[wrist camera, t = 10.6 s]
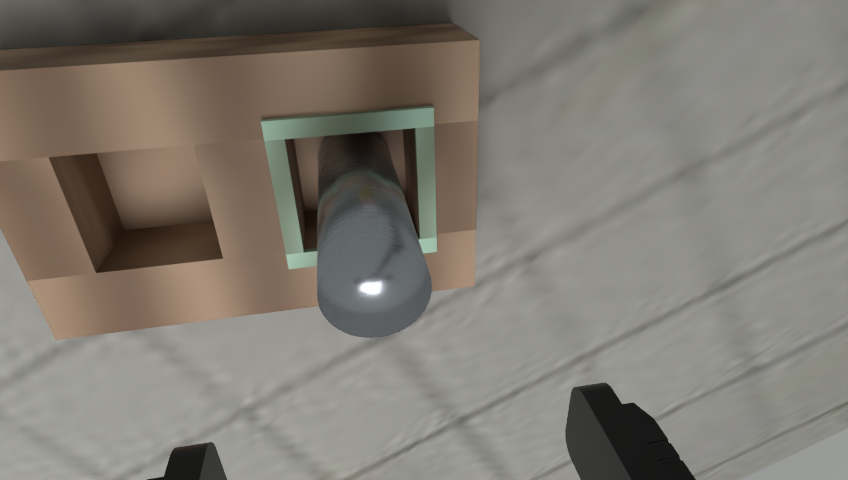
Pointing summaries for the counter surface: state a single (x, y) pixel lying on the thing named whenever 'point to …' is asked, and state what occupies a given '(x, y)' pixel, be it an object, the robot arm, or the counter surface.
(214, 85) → the bore block
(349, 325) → the pin
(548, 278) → the counter surface
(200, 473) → the robot arm
